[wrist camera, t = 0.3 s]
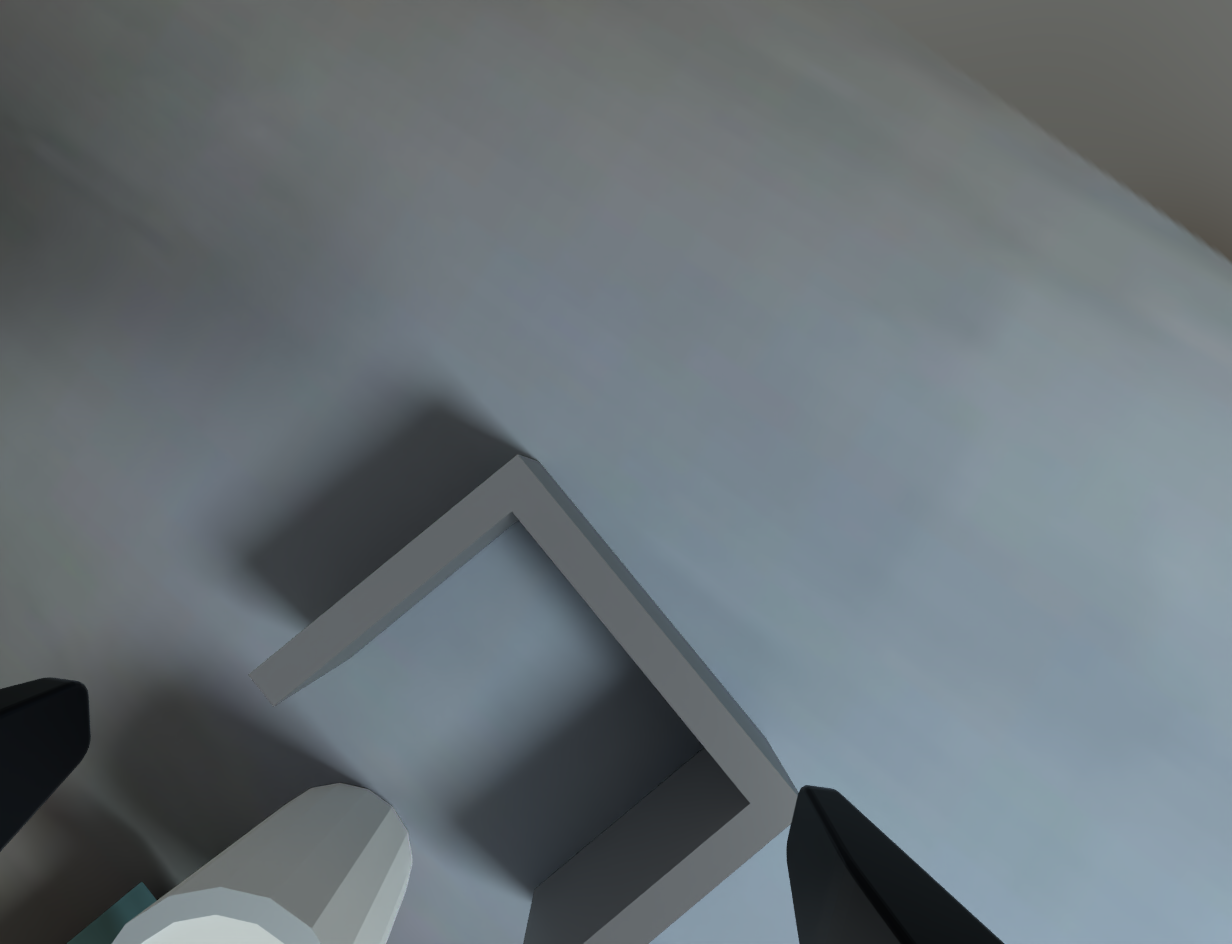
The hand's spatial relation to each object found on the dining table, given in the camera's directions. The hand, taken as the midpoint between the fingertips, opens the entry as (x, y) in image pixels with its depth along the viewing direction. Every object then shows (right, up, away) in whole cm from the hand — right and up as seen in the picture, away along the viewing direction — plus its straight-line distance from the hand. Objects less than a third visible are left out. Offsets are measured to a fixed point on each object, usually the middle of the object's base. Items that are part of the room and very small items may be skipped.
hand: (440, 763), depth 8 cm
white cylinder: (-8, -11, +15) cm, 20 cm away
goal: (-1, -5, +15) cm, 16 cm away
